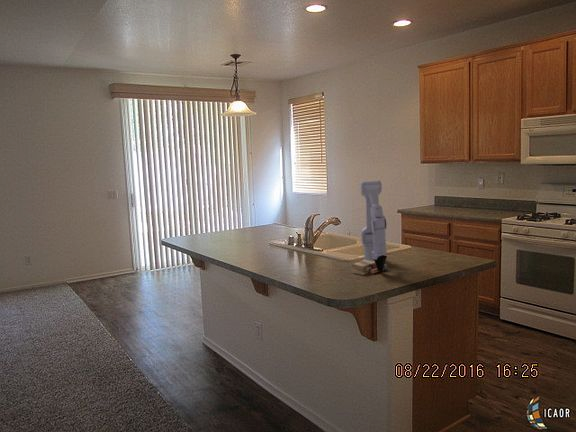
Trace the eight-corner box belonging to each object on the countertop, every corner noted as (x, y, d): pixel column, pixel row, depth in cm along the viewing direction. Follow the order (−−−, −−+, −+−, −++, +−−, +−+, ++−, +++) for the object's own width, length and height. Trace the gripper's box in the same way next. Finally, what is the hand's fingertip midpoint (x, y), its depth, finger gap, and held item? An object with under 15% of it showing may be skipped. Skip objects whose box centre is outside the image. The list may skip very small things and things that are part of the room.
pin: (353, 270, 235) (353, 264, 235) (361, 268, 239) (360, 262, 239) (366, 273, 229) (366, 267, 229) (374, 271, 233) (373, 265, 232)
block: (368, 267, 240) (367, 259, 239) (379, 269, 234) (378, 261, 234) (352, 272, 232) (351, 264, 231) (363, 274, 227) (362, 266, 226)
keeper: (384, 268, 235) (384, 264, 235) (388, 269, 233) (388, 264, 233) (369, 273, 228) (369, 268, 228) (373, 273, 226) (373, 269, 226)
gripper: (376, 239, 234) (377, 267, 236) (365, 245, 222) (366, 274, 223) (390, 240, 230) (391, 268, 232) (380, 246, 218) (381, 275, 220)
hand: (380, 271), depth 228 cm, fingers closed
